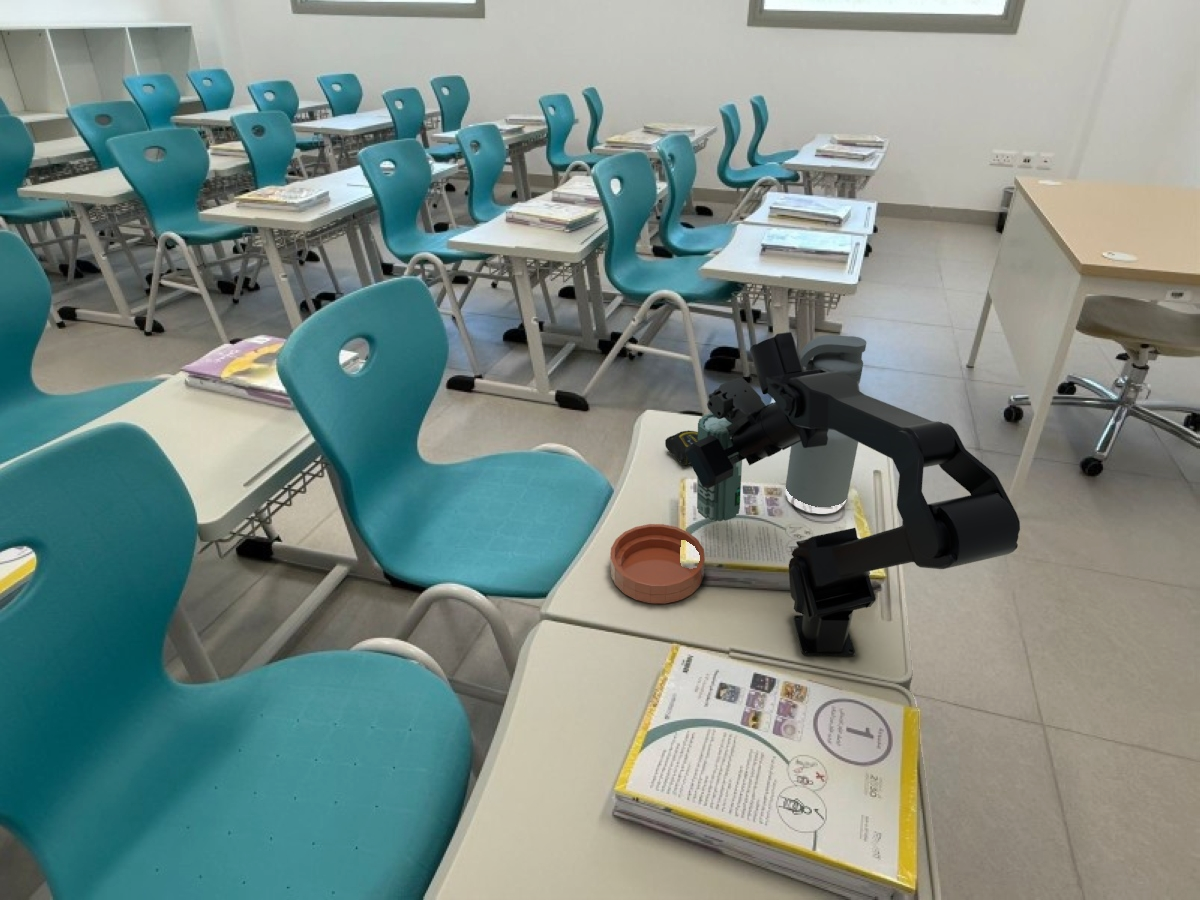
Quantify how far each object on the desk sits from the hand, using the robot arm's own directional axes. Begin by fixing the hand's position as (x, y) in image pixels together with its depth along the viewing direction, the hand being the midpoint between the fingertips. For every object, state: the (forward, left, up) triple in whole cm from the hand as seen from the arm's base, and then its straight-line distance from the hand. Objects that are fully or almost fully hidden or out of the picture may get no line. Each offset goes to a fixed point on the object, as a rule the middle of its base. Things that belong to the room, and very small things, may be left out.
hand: (713, 461), depth 106 cm
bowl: (-11, +8, -12) cm, 18 cm away
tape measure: (+19, +3, -12) cm, 23 cm away
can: (-1, -1, -8) cm, 8 cm away
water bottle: (+7, -18, -12) cm, 22 cm away
